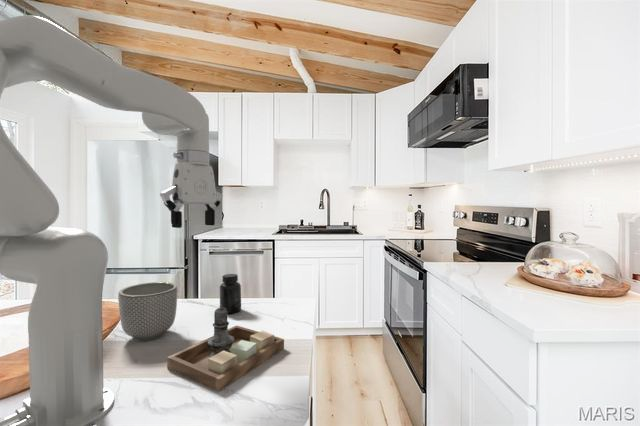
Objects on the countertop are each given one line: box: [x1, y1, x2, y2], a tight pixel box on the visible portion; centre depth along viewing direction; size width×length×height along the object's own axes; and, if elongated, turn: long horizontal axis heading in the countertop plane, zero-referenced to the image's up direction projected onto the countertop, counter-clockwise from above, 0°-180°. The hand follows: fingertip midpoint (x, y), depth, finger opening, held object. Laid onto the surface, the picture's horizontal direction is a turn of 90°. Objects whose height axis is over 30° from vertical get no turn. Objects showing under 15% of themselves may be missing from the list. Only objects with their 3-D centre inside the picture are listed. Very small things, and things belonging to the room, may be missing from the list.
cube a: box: [208, 351, 237, 375], centre depth 63 cm, size 4×4×4 cm
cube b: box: [231, 340, 257, 364], centre depth 68 cm, size 4×4×4 cm
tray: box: [166, 324, 285, 393], centre depth 71 cm, size 20×16×3 cm
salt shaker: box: [208, 303, 234, 358], centre depth 72 cm, size 6×6×12 cm
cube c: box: [250, 330, 275, 352], centre depth 74 cm, size 4×4×4 cm
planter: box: [117, 281, 179, 343], centre depth 83 cm, size 14×14×13 cm
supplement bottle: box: [219, 273, 242, 315], centre depth 103 cm, size 7×7×12 cm
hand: (194, 226), depth 80 cm, fingers open, 9 cm apart
